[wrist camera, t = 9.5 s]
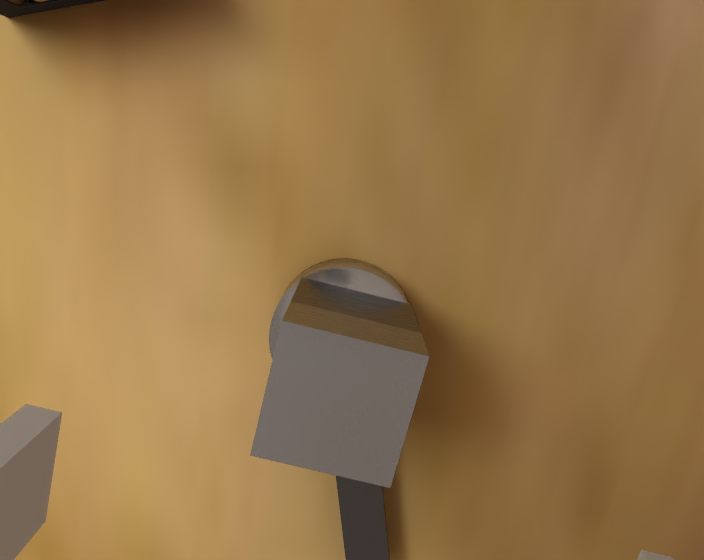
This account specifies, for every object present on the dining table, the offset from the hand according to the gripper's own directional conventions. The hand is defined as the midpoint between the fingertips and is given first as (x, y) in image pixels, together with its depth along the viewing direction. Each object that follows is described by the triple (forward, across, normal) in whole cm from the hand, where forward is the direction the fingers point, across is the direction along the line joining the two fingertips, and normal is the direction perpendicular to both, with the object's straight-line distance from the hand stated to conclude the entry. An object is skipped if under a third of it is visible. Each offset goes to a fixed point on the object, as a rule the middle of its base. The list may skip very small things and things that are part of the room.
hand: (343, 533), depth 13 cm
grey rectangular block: (+18, 0, -2) cm, 18 cm away
